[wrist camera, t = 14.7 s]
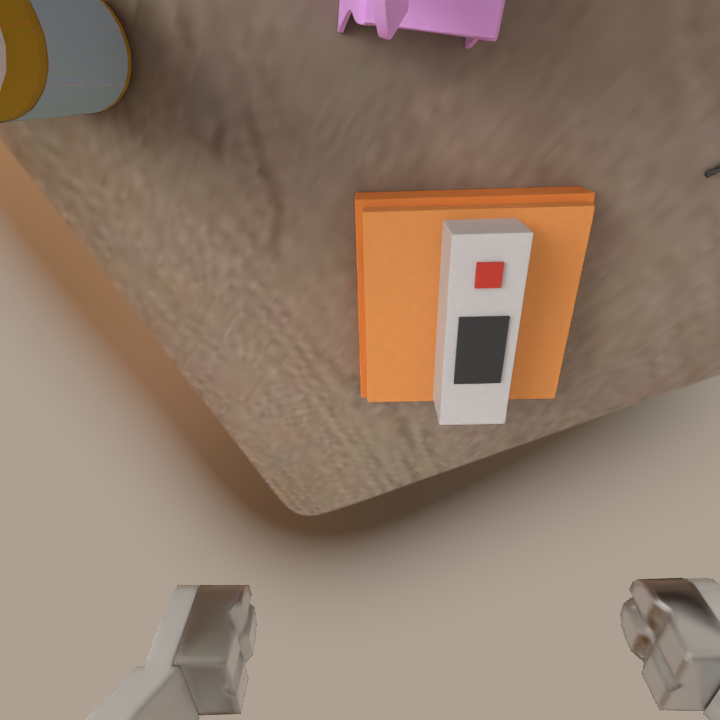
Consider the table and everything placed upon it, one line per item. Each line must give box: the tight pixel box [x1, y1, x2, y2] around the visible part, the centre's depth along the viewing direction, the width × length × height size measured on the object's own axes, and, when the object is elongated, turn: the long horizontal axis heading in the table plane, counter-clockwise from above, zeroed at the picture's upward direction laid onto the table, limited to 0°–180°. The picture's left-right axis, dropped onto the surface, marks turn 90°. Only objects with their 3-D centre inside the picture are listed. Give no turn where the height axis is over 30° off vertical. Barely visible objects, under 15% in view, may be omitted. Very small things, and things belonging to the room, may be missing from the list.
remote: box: [433, 218, 533, 425], centre depth 33 cm, size 14×5×4 cm, turn 2°
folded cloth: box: [355, 186, 596, 402], centre depth 36 cm, size 16×16×4 cm
